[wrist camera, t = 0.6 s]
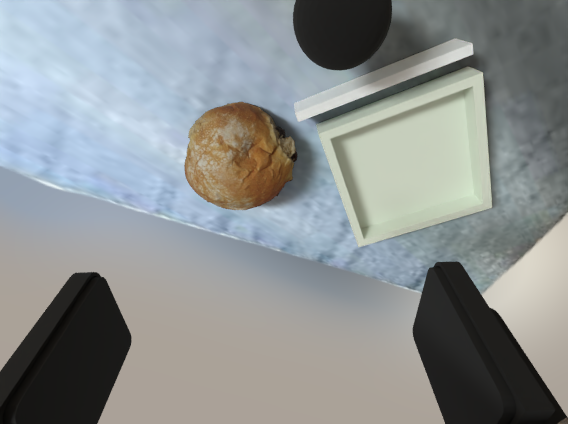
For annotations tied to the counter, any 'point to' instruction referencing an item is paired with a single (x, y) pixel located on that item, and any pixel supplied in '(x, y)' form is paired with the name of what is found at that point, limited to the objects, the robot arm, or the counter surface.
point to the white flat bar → (383, 78)
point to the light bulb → (341, 30)
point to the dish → (412, 157)
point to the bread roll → (238, 157)
